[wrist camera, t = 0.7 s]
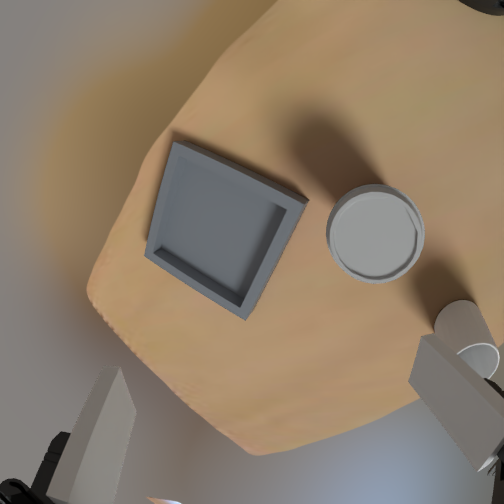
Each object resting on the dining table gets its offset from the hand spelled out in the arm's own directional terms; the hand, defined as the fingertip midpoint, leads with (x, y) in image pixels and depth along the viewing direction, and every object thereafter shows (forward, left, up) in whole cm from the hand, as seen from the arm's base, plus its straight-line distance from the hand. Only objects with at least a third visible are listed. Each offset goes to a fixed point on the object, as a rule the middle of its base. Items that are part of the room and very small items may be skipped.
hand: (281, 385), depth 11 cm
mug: (+5, +25, -30) cm, 39 cm away
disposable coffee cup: (-2, +3, -30) cm, 30 cm away
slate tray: (+11, -15, -29) cm, 35 cm away
